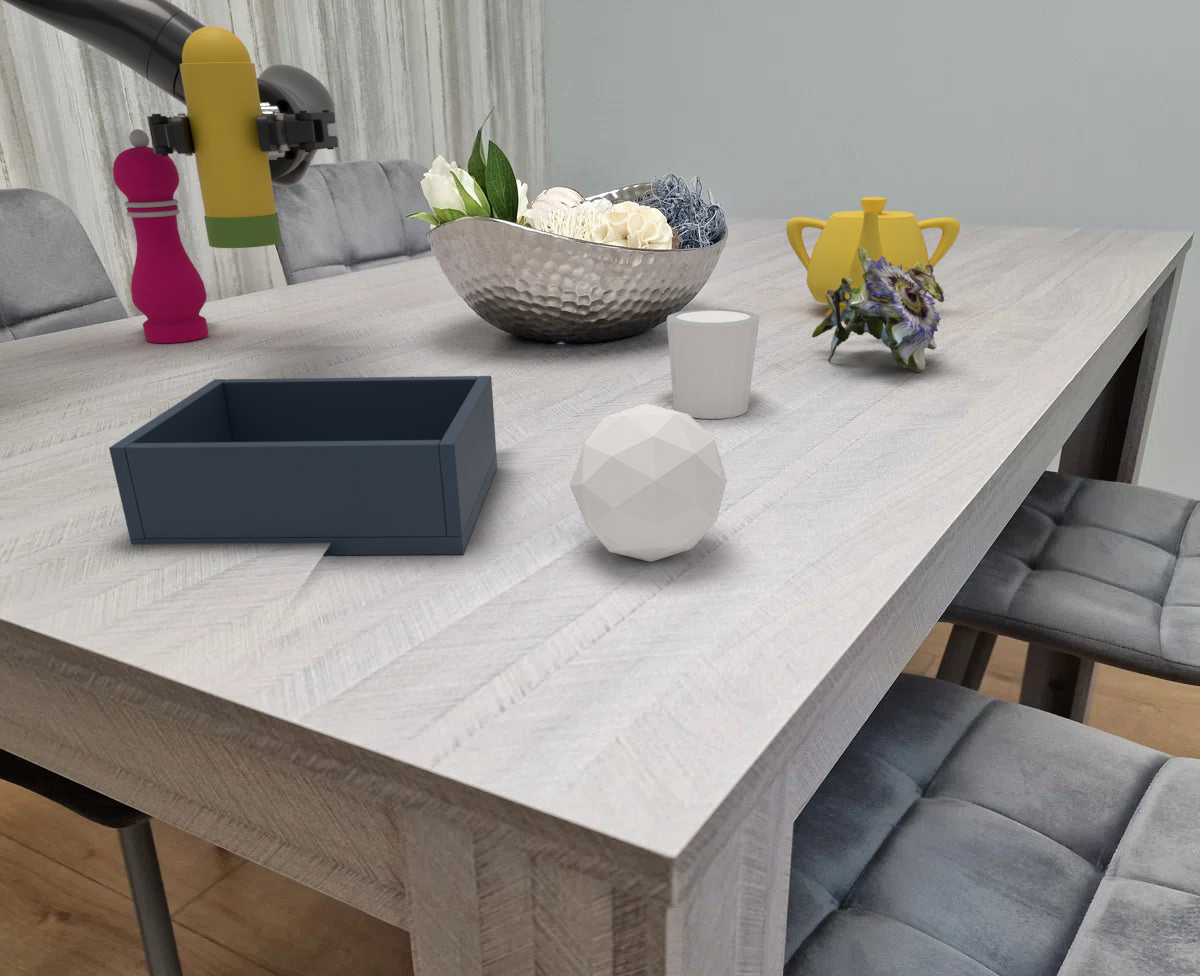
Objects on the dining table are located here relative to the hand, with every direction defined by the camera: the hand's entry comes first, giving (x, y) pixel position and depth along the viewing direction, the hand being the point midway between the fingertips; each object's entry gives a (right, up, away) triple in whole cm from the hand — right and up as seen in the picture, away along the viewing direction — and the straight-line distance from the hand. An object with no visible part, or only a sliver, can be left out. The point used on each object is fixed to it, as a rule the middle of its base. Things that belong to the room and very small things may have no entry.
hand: (221, 134), depth 69 cm
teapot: (+54, 0, +44) cm, 70 cm away
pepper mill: (-19, -3, +40) cm, 45 cm away
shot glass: (+34, -16, +10) cm, 39 cm away
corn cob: (0, -5, +5) cm, 8 cm away
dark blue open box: (+10, -25, -8) cm, 28 cm away
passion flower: (+49, -10, +22) cm, 55 cm away
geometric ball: (+28, -29, -15) cm, 42 cm away
